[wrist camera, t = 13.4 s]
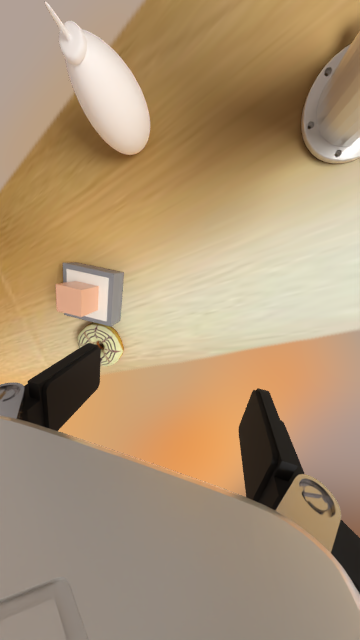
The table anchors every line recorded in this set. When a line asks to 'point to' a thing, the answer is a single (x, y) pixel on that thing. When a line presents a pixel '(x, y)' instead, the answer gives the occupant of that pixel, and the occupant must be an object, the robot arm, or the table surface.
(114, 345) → the decorated donut
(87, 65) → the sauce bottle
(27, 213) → the table surface
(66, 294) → the terracotta cube
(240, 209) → the table surface
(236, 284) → the table surface
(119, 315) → the grey flat square block
